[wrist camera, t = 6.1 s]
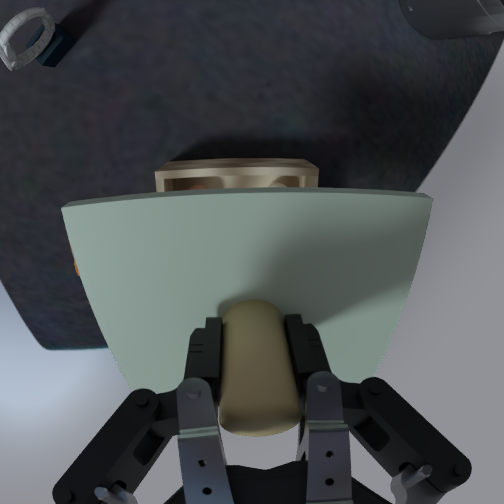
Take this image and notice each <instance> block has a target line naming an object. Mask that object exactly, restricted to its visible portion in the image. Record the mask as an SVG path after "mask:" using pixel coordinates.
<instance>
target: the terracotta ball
mask: <svg viewBox="0 0 504 504" xmlns="http://www.w3.org/2000/svg"><path fill="white" fill-rule="evenodd" d="M200 189H207V188H206V187H205V186H203V185H200V184H195V185H192V186H190V187H189V188H188V189H187V190H200Z"/></svg>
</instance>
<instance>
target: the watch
mask: <svg viewBox="0 0 504 504" xmlns="http://www.w3.org/2000/svg"><path fill="white" fill-rule="evenodd" d="M37 16H42V18H43V25H42V26H41V27H40V28H39V29H38V31H37V32H36V33H35V34H34V36H33V37H32V38H31V40H30V41H29V42H28V44H27V45H26V47H27V48H28V50H27V51H25V52H24V53H23V54H20V55H18V56H17V55H16V53H15V51H14V49H13V48H12V46H11V45H10V43H9V42H8V41H9V40H10V37H12V35H13V34H14V33H15V31H16V30H17V29H18V28H19V27H20V26H21V24H22V25H23V24H24V23H25V22H27V21H28V20H30V19H32V18H34V17H37ZM15 17H16V18H15ZM15 17H14V18H13V19H11V20H10V21H9V23H8V24H7V25H6V26H5V27H4V28H3V30H2V31H1V33H0V57H1V58H2V60H3V61H4V63H5V64H6V66H7V67H8V68H9V69H10V70H11V71H12V70H13V68H15V69H19V68H20V67H22V66H24V65H26V64H28V63H29V62H31V61H32V60H33V59H34V58H36V59H37V61H38V62H39V63H40V64H41V65H42V66H49V67H55V66H56V65H57V64H58V62H59V61H60V60H61V59H62V57H63V56H64V55H65V54H66V53H67V51H68V50H69V49H70V48H71V47H72V46H73V45H74V43H75V41H74V40H73V39H72V38H71V37H70V36H69V35H68V34H67V33H66V32H65V31H64V30H63V29H62V28H61V27H60V26H59V25H58V24H56V23H54V20H53V18H52V16H51V15H50V14H49V13H48V12H47V11H46V10H45V9H44V8H43V9H42V8H39V7H34V8H30V9H27V10H25V11H23V12H21V13H19V14H18V15H16V16H15ZM12 23H13V24H12Z"/></svg>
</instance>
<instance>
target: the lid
mask: <svg viewBox="0 0 504 504" xmlns="http://www.w3.org/2000/svg"><path fill="white" fill-rule="evenodd" d="M432 202H433V198H431V197H430V196H428V195H426V194H424V193H415V192H403V191H389V190H372V189H351V188H317V187H256V188H222V189H200V190H183V191H168V192H155V193H143V194H132V195H122V196H113V197H104V198H96V199H88V200H80V201H73V202H69V203H67V204H66V205H65V206H63V207H62V208H61V209H62V213H63V218H64V222H65V226H66V230H67V234H68V238H69V241H70V245H71V248H72V252H73V255H74V258H75V262H76V265H77V268H78V271H79V274H80V277H81V280H82V283H83V286H84V288H85V291H86V294H87V297H88V299H89V302H90V304H91V307H92V310H93V312H94V314H95V317H96V319H97V322H98V324H99V326H100V329H101V331H102V333H103V335H104V338H105V340H106V342H107V344H108V346H109V348H110V351H111V352H112V355H113V356H114V359H115V361H116V362H117V365H118V367H119V369H120V370H121V372H122V374H123V376H124V378H125V380H126V381H127V383H128V385H129V387H130V389H131V390H137V389H140V388H146V389H150V390H152V391H154V392H163V393H164V392H168V391H172V390H174V389H176V388H177V387H178V385H179V384H180V383H181V382H182V381H183V378H184V372H185V365H186V359H187V353H188V346H189V340H190V335H191V334H192V332H193V331H194V330H195V328H205V323H206V317H222V323H223V327H222V352H221V381H220V399H219V423H220V425H221V426H222V427H223V428H224V429H225V430H227V431H229V432H231V433H234V434H237V435H242V436H252V437H259V436H269V435H274V434H278V433H282V432H284V431H287V430H289V429H291V428H293V427H294V426H295V425H297V424H298V423H299V422H300V420H301V418H302V411H301V406H300V401H299V395H298V390H297V385H296V380H295V375H294V370H293V365H292V360H291V355H290V350H289V345H288V340H287V335H286V331H285V326H284V316H285V314H301V317H302V320H303V324H308V323H312V324H313V325H314V326H315V328H316V329H317V330H318V332H319V335H320V338H321V341H322V344H323V347H324V350H325V353H326V356H327V359H328V362H329V366H330V369H331V371H332V373H333V374H334V375H336V376H337V378H338V379H339V380H342V381H344V382H350V383H353V382H359V381H363V380H364V379H366V378H369V377H374V376H375V374H376V372H377V370H378V367H379V365H380V363H381V361H382V359H383V356H384V355H385V352H386V350H387V348H388V345H389V343H390V341H391V338H392V336H393V334H394V331H395V328H396V326H397V323H398V321H399V318H400V316H401V313H402V310H403V308H404V305H405V302H406V299H407V296H408V293H409V290H410V287H411V284H412V281H413V278H414V274H415V271H416V268H417V265H418V261H419V258H420V254H421V250H422V246H423V242H424V239H425V234H426V230H427V226H428V221H429V217H430V211H431V207H432Z"/></svg>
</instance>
